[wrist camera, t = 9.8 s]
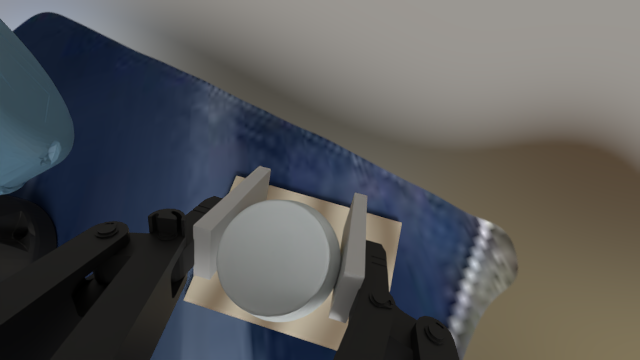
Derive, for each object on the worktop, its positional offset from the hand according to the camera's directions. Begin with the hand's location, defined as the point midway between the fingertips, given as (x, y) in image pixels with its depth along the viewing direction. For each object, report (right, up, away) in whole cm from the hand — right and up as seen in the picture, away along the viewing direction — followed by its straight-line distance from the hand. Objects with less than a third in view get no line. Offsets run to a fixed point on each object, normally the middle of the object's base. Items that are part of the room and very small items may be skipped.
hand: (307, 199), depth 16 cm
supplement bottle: (-1, -5, +2) cm, 5 cm away
